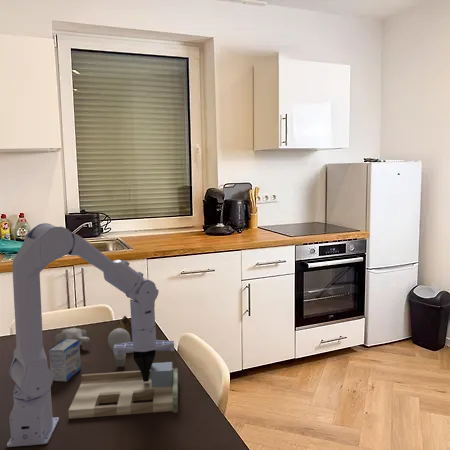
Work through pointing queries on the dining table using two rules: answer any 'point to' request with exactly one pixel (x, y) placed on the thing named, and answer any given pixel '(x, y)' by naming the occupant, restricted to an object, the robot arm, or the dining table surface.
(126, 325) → the rock
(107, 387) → the tray
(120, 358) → the lightbulb
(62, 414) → the dining table surface
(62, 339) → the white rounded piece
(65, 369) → the medicine box
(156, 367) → the slate block
